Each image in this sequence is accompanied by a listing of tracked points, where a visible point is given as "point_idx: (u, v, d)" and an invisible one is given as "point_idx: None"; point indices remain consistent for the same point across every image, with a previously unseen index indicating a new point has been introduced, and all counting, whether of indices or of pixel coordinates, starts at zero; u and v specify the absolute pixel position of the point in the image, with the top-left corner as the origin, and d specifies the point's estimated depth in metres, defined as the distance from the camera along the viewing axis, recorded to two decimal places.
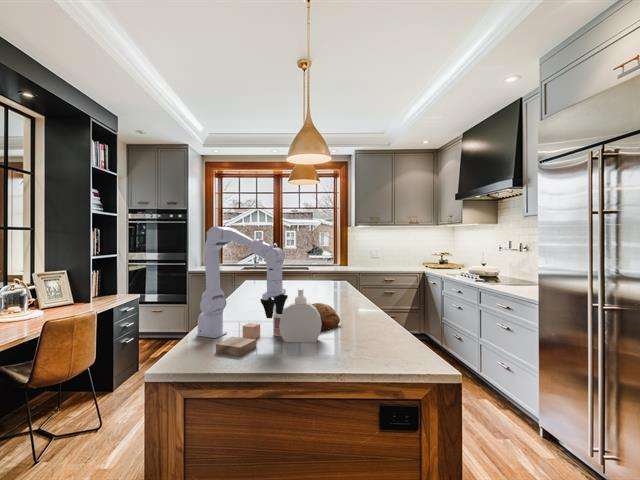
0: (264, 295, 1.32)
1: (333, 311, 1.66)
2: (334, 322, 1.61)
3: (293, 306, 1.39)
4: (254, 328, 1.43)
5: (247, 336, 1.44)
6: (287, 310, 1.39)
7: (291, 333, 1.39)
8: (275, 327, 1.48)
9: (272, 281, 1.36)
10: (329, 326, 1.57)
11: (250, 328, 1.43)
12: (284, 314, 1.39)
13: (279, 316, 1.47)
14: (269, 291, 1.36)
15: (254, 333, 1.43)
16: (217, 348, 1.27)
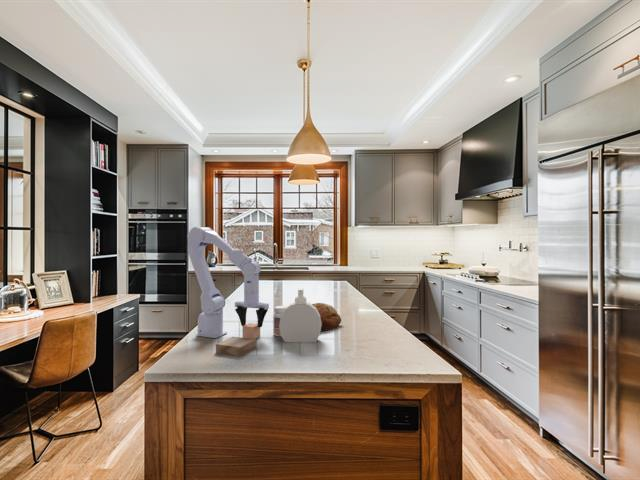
0: None
1: (334, 311, 1.66)
2: (335, 322, 1.61)
3: (293, 306, 1.39)
4: (254, 328, 1.43)
5: (247, 336, 1.44)
6: (287, 310, 1.39)
7: (291, 333, 1.39)
8: (275, 327, 1.48)
9: None
10: (330, 326, 1.58)
11: (250, 328, 1.43)
12: (284, 314, 1.39)
13: (279, 316, 1.47)
14: None
15: (254, 333, 1.43)
16: (217, 348, 1.27)
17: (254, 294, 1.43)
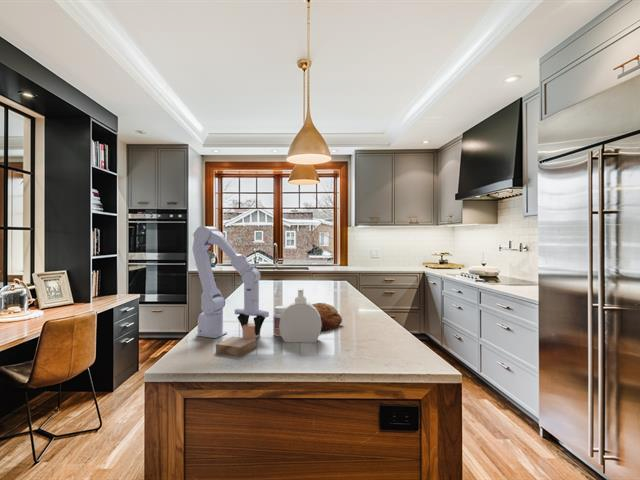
0: None
1: (335, 311, 1.66)
2: (336, 322, 1.61)
3: (293, 306, 1.39)
4: (254, 328, 1.43)
5: (247, 336, 1.44)
6: (287, 310, 1.39)
7: (291, 333, 1.39)
8: (275, 327, 1.48)
9: None
10: (331, 326, 1.58)
11: (250, 328, 1.43)
12: (284, 314, 1.39)
13: (279, 316, 1.47)
14: None
15: (254, 333, 1.43)
16: (217, 348, 1.27)
17: (254, 302, 1.43)
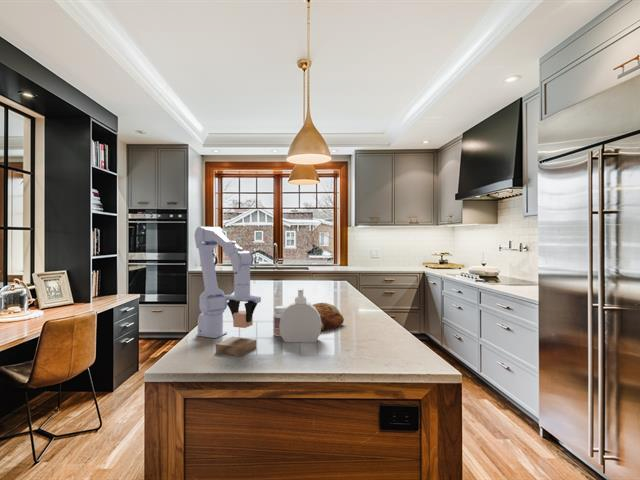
0: None
1: (337, 311, 1.66)
2: (338, 322, 1.62)
3: (293, 306, 1.39)
4: None
5: (238, 324, 1.33)
6: (287, 310, 1.39)
7: (291, 333, 1.39)
8: (275, 327, 1.48)
9: None
10: (333, 326, 1.58)
11: (241, 315, 1.33)
12: (284, 314, 1.39)
13: (279, 316, 1.47)
14: None
15: (246, 321, 1.33)
16: (217, 348, 1.27)
17: (245, 286, 1.33)
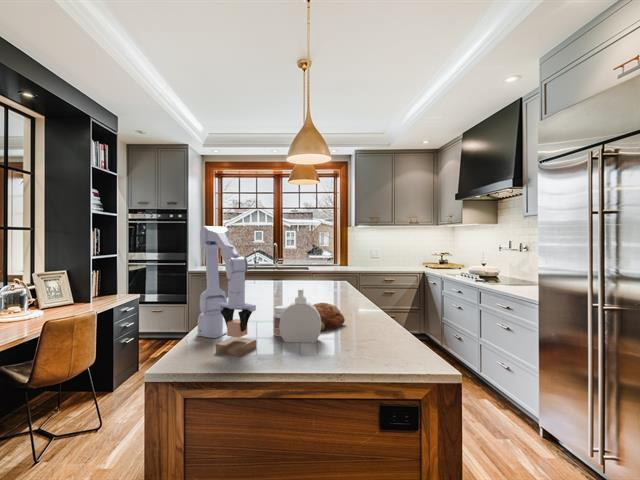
0: None
1: (338, 311, 1.66)
2: (339, 322, 1.62)
3: (293, 306, 1.39)
4: None
5: (232, 333, 1.28)
6: (287, 310, 1.39)
7: (291, 333, 1.39)
8: (275, 327, 1.48)
9: None
10: (334, 326, 1.58)
11: (236, 324, 1.27)
12: (284, 314, 1.39)
13: (279, 316, 1.47)
14: None
15: (240, 330, 1.27)
16: (217, 348, 1.27)
17: (239, 294, 1.27)
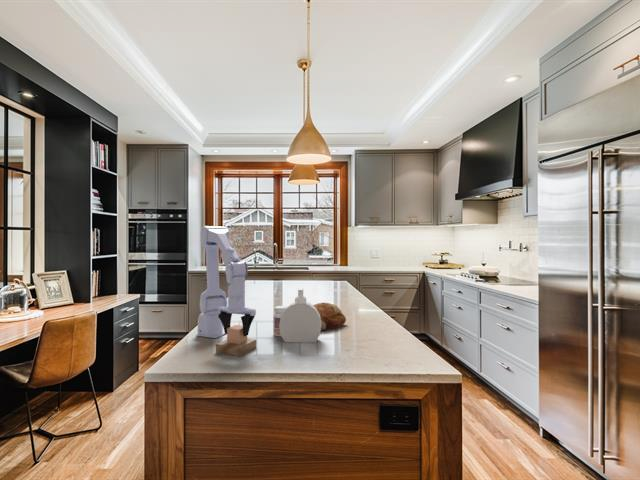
0: None
1: (339, 311, 1.67)
2: (340, 321, 1.62)
3: (293, 306, 1.39)
4: (240, 331, 1.27)
5: (232, 340, 1.28)
6: (287, 310, 1.39)
7: (291, 333, 1.39)
8: (275, 327, 1.48)
9: None
10: (335, 325, 1.58)
11: (235, 331, 1.27)
12: (284, 314, 1.39)
13: (279, 316, 1.47)
14: None
15: (240, 337, 1.27)
16: (217, 348, 1.27)
17: (239, 298, 1.27)
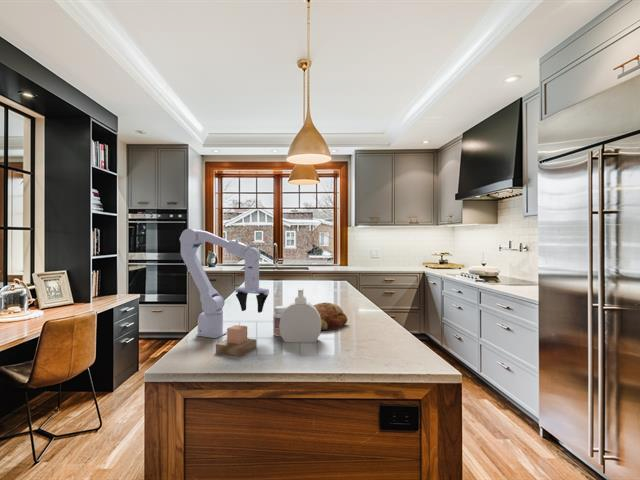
0: None
1: (341, 310, 1.67)
2: (342, 321, 1.62)
3: (293, 306, 1.39)
4: (240, 331, 1.27)
5: (232, 340, 1.28)
6: (287, 310, 1.39)
7: (291, 333, 1.39)
8: (275, 327, 1.48)
9: None
10: (337, 325, 1.59)
11: (235, 331, 1.27)
12: (284, 314, 1.39)
13: (279, 316, 1.47)
14: None
15: (240, 337, 1.27)
16: (217, 348, 1.27)
17: (254, 279, 1.45)
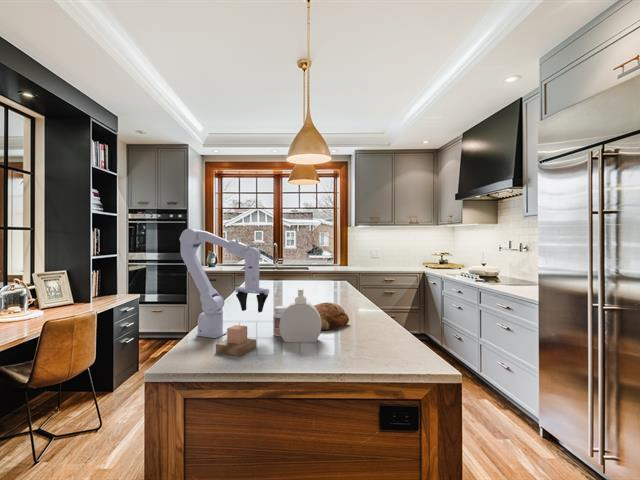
0: None
1: (342, 310, 1.67)
2: (343, 321, 1.63)
3: (293, 306, 1.39)
4: (240, 331, 1.27)
5: (232, 340, 1.28)
6: (287, 310, 1.39)
7: (291, 333, 1.39)
8: (275, 327, 1.48)
9: None
10: (338, 325, 1.59)
11: (235, 331, 1.27)
12: (284, 314, 1.39)
13: (279, 316, 1.47)
14: None
15: (240, 337, 1.27)
16: (217, 348, 1.27)
17: (255, 279, 1.46)
